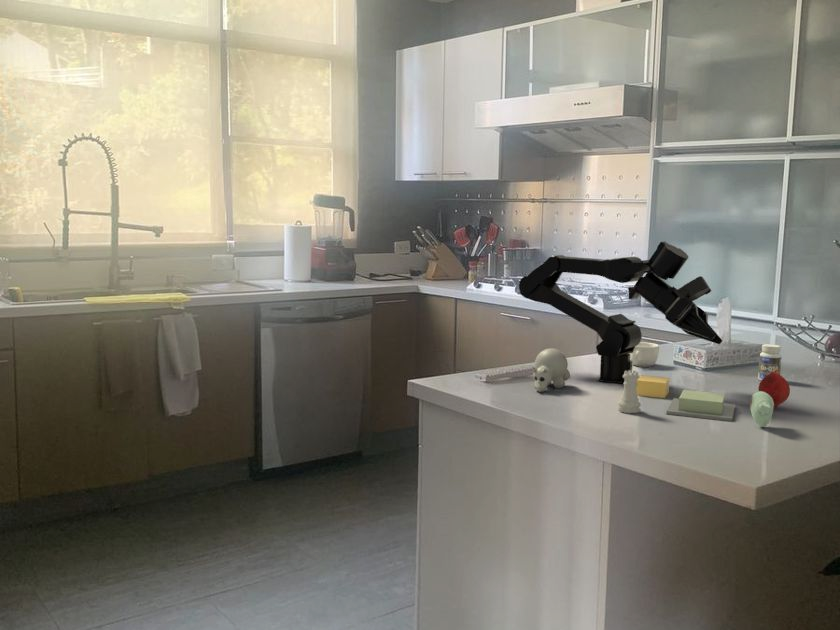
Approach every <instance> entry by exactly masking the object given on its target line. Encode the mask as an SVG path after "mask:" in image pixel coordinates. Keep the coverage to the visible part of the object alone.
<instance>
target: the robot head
mask: <svg viewBox="0 0 840 630" xmlns="http://www.w3.org/2000/svg"><path fill="white" fill-rule="evenodd" d="M749 406H750V414H751V416H752V418H753V421H754V422H755V423H756V424H757V426H759V427H760V428H765V427H767V425H768V424H770V421H771V420H772V416H773V412H774V409H775V408H774V402H773V399H772V397H771V396H770V395H768V394H767V393H765V392H762V391H759V390H758V391H756V392H755V393H753V394H752V395H751V397H750V399H749Z"/></svg>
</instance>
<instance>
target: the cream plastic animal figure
mask: <svg viewBox="0 0 840 630" xmlns="http://www.w3.org/2000/svg"><path fill="white" fill-rule="evenodd" d="M568 364H569V363H568V359H567V357H566V355H565V354H564V353H563V352H562V351H560V350H559V349H557V348H553V347H552V348H550V347H549V348H546V349H544V350H542V351H540V352H539V353H538V354H537V356H536V358H535V362H534V366H533V367H532V372H533V375H532V379H533V380H534V389H535V391H536V392H538V393H544V392H545V391H546V390H547V389H548V386H551V384H553V386H554V388H555V389H561V388H563V387H565V384H566V382H565V381H568V380H570V378H571V374H570V371H569V369H568Z"/></svg>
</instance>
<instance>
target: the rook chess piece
mask: <svg viewBox="0 0 840 630" xmlns="http://www.w3.org/2000/svg"><path fill="white" fill-rule="evenodd" d="M639 377H640V376H639V372H638V371H636V370H632V373H631V370H628V372H627V371H625V372H624V375H623V378H624V380H625V381H624V383H622V384H623V392H622V397H620V400H619V401H618V403H617V404H618V405H619V406H618V407H617V409H618V411H619V412H620V411H621V413H622V412H624V413H623V414H628V413H633V414H632V415H635V414H634V413H636V414H639V413H640V411H642V409H641V408H640V407H641V406H642V405H641V402H640V401H639V398H638V395H637V385H638V384H637V380H638V378H639Z"/></svg>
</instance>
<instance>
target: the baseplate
mask: <svg viewBox="0 0 840 630" xmlns="http://www.w3.org/2000/svg"><path fill="white" fill-rule="evenodd" d="M725 397H726V394H725V393H721V392H720V393H719V392H718V393H717V392H709V391H708V392H707V391H697V390H688V389H683V390H682V392H681V394H680V395H679V397H678V398H677V397H673V399H672V401H671V402H670V404H669V406H668V408H667V409H666V415H672V416H673V415H674V416H680V417H690V418H699V419H700V418H701V419H709V420H715V421H716V420H717V421H726V422H733V420H734V419H733V418H734V414H735V409H736V404H735V403H733V404H732V403H725Z"/></svg>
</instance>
